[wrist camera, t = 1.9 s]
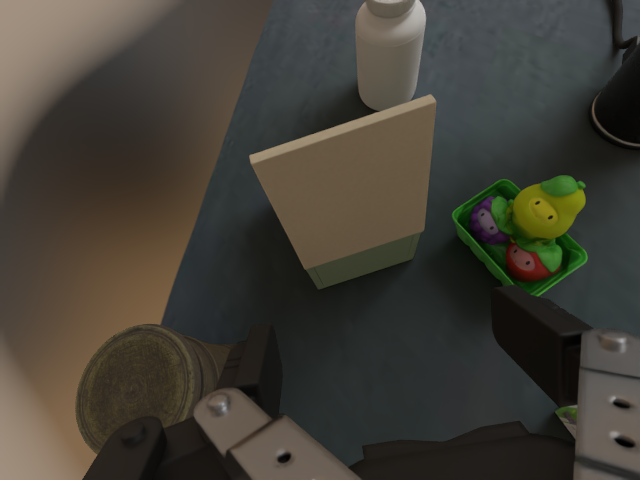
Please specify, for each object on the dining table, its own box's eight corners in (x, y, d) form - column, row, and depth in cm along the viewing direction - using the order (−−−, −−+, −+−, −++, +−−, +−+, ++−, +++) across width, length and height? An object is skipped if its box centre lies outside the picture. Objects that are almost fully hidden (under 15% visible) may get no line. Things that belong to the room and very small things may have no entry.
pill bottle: (380, 123, 50) (382, 23, 36) (347, 88, 53) (337, -17, 39) (428, 94, 50) (447, -16, 37) (392, 60, 54) (398, -52, 40)
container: (179, 381, 41) (46, 381, 24) (242, 328, 42) (156, 293, 26) (222, 453, 38) (102, 508, 21) (289, 393, 39) (225, 400, 22)
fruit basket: (440, 232, 43) (460, 184, 33) (499, 192, 44) (538, 132, 33) (510, 312, 39) (560, 286, 28) (575, 266, 40) (647, 224, 29)
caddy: (289, 193, 48) (271, 154, 40) (373, 165, 48) (373, 120, 40) (318, 289, 43) (304, 267, 35) (413, 259, 42) (422, 229, 34)
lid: (248, 155, 22) (250, 164, 22) (431, 93, 22) (437, 101, 22) (302, 263, 34) (304, 270, 34) (421, 224, 34) (424, 230, 34)
